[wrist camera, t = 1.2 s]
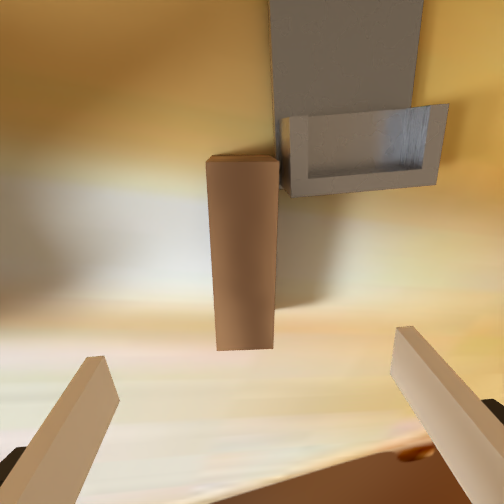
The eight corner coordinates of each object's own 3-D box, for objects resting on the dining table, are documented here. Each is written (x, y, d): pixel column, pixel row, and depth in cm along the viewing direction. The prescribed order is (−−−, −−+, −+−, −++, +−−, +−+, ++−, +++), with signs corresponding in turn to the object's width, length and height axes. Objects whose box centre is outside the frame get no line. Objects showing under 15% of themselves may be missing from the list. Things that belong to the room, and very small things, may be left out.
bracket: (276, 187, 26) (287, 202, 21) (260, -175, 18) (271, -315, 12) (396, 176, 26) (439, 188, 21) (436, -186, 18) (527, -328, 12)
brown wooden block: (220, 312, 31) (216, 350, 26) (212, 155, 25) (205, 162, 20) (266, 310, 31) (273, 348, 26) (269, 155, 25) (279, 161, 20)
